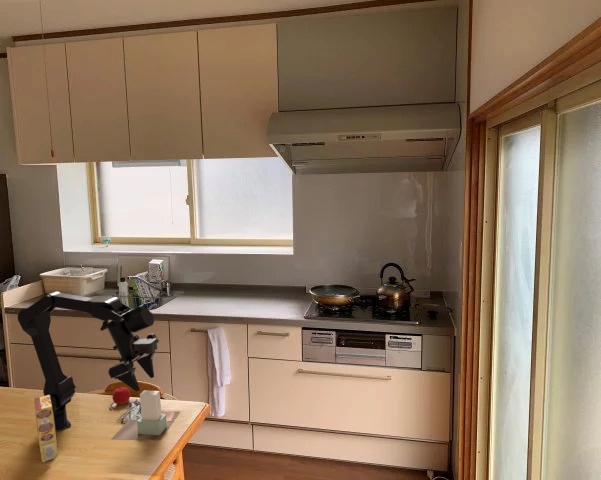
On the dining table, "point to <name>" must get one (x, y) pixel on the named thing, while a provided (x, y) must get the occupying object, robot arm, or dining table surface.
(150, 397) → the tall beige block
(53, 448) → the candy box
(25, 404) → the dining table surface
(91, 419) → the dining table surface
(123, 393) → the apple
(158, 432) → the slot box
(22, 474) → the dining table surface
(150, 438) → the walnut board
